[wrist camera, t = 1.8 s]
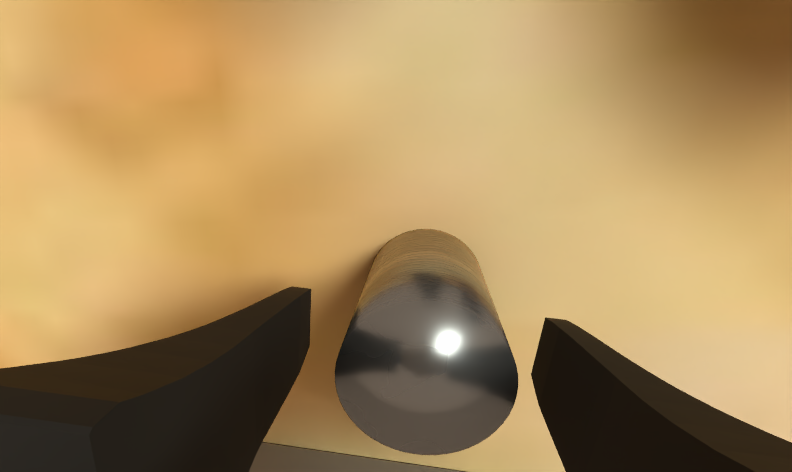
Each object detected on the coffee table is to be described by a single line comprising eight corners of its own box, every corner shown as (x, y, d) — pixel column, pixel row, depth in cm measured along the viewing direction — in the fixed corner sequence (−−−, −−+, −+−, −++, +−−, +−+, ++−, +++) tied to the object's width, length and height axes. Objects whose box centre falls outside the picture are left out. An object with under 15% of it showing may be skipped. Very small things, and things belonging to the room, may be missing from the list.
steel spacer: (490, 236, 14) (536, 315, 8) (472, 337, 15) (499, 466, 10) (374, 222, 14) (339, 290, 8) (366, 324, 15) (331, 442, 10)
